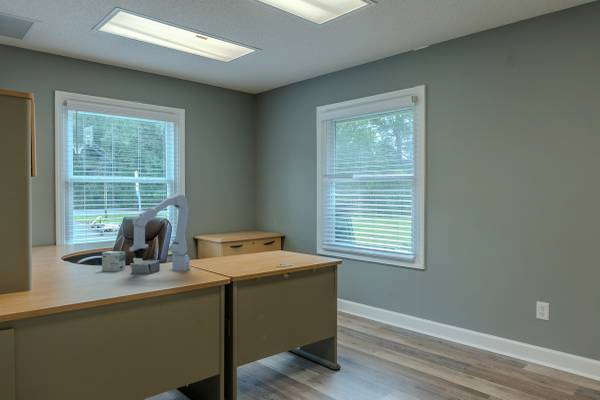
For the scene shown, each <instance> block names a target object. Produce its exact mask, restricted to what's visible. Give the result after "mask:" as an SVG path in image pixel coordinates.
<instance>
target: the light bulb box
mask: <svg viewBox="0 0 600 400" xmlns="http://www.w3.org/2000/svg"><path fill="white" fill-rule="evenodd" d="M123 270H126V251H117V250H107V251H102V253H101V272H109V271H111V272H112V271H114V272H121V271H123Z"/></svg>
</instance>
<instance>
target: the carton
mask: <svg viewBox="0 0 600 400" xmlns="http://www.w3.org/2000/svg"><path fill="white" fill-rule="evenodd" d="M160 263H161V262H160V261H154V260H152V261H151V260H143V264H148V266H149V271H150V273H149V274H153V273H156V272H159V271H160V268H161V267H160Z"/></svg>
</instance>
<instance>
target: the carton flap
mask: <svg viewBox="0 0 600 400" xmlns="http://www.w3.org/2000/svg"><path fill="white" fill-rule="evenodd" d="M143 261H144V260H143V258H136V257H134V258H133V262H131V263H129V266H130V269H131V273H134V274H149V275H150V274H151V273H150V271H149V266H148V264H143Z"/></svg>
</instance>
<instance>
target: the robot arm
mask: <svg viewBox="0 0 600 400" xmlns="http://www.w3.org/2000/svg"><path fill="white" fill-rule="evenodd" d="M169 206H174V207H175V208H176V210H177V211H178V216H177V223H176V229H175V231H176V232H175V236H174V238H173V240H172V243H171V245H170V249H169V250H170V251H171V253H172V255H171V257H172V258H171V261H172V262H171V268H169V270H170V271H182V272H183V271H187V270H188V269H189V270H190V269H191V267H190V265H191V264H190V255H188V254H186V253H187V251H188V245H187V244H188V242H187V240H186V232H187V225H188V219H189V211H190V208H189V204H188V198H187V197H186V196H185V195H184V194H174V193H173V194H171V195H169V196H167V197H166V198H165V199H164V200H162V201H161V202H159V203H158V204H157V205H156V206H154V207H147V208H146V210H145V211H143V212H142V213H141V212H140V213H139V214H138V215H136V216H134V217H133V219H132V221H131V223H132V225H133V245H132V246H130V247H129V252H132V253H133V254H134V256H135V258H142V259H143V257H144V254H145V253H146V250H147V249H148V248H149V244H148V243H146V225H147V224H148V223H149V222H150V221H151V220H153V219H154V218H156V217H157V216H158V213H160V212H161V211H162V210H164V209H166V208H167V207H169Z"/></svg>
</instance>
